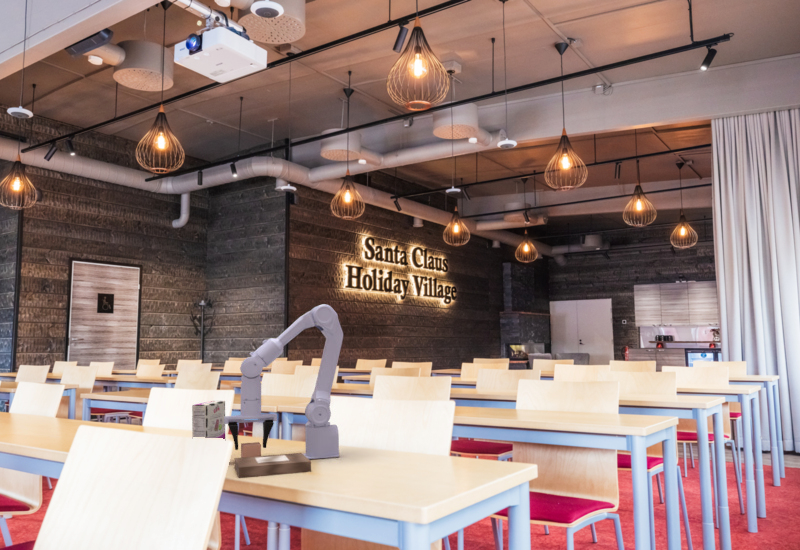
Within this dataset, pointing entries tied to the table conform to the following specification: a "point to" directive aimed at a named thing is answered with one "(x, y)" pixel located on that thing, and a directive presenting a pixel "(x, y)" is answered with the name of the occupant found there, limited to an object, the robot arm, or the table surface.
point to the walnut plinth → (272, 465)
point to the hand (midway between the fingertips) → (250, 448)
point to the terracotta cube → (250, 449)
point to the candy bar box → (208, 419)
